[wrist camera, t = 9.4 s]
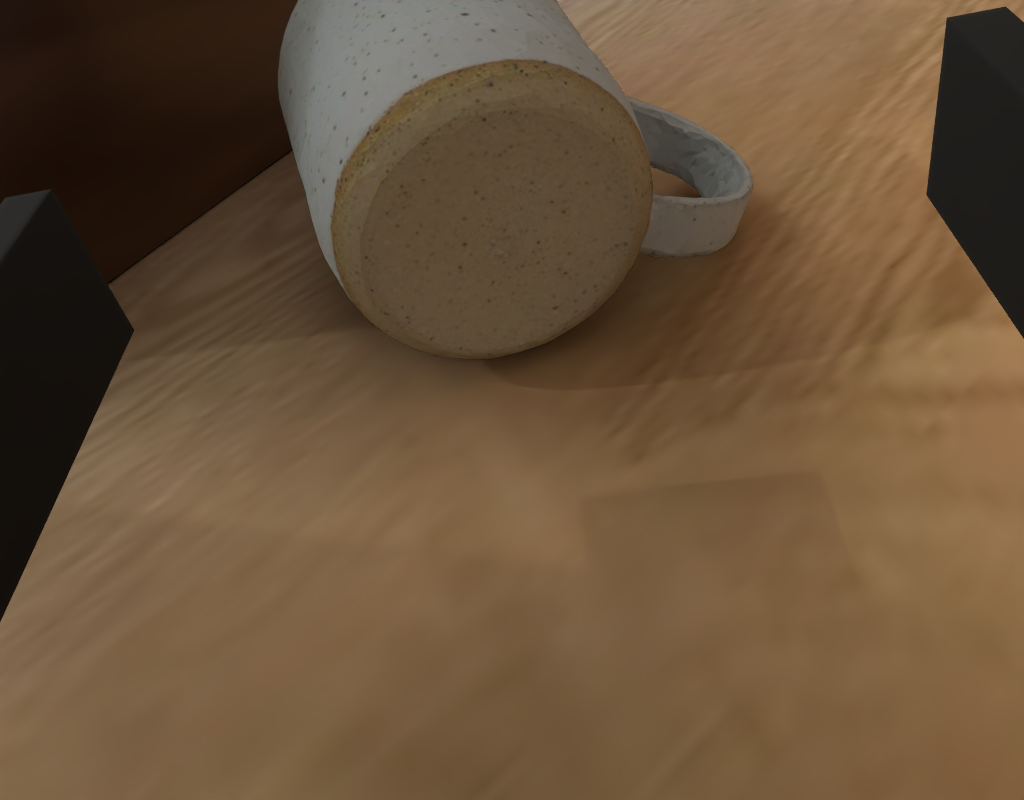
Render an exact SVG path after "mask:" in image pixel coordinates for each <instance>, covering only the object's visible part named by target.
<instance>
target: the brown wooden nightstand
mask: <svg viewBox="0 0 1024 800" xmlns="http://www.w3.org/2000/svg"><path fill="white" fill-rule="evenodd" d="M297 2H298V0H0V204H1V203H2V202H3V200H4V199H5V198H7V197H12V196H17V195H23V194H28V193H33V192H38V191H44V190H49V189H52V190H53V192H54V194H55V195H56V197H57V199H58V201H59V202H60V204H61V206H62V207H63V209H64V211H65V213H66V214H67V216H68V218H69V219H70V221H71V223H72V225H73V226H74V228H75V230H76V231H77V233H78V235H79V236H80V238H81V240H82V242H83V243H84V245H85V247H86V248H87V250H88V252H89V254H90V255H91V257H92V259H93V260H94V262H95V264H96V266H97V267H98V269H99V271H100V272H101V274H102V276H103V278H104V279H105V281H106V283H108V282H110V281H111V280H112V279H114V278H115V277H116V276H118V275H119V274H121V273H122V272H123V271H125V270H126V269H127V268H129V267H130V266H132V265H133V264H134V263H136V262H137V261H138V260H140V259H141V258H143V257H144V256H145V255H147V254H148V253H149V252H151V251H152V250H154V249H155V248H156V247H158V246H159V245H160V244H162V243H163V242H165V241H166V240H167V239H169V238H170V237H171V236H173V235H174V234H176V233H177V232H178V231H180V230H181V229H182V228H184V227H185V226H187V225H188V224H189V223H191V222H192V221H194V220H195V219H196V218H198V217H199V216H200V215H202V214H203V213H205V212H206V211H207V210H209V209H210V208H211V207H213V206H214V205H216V204H217V203H218V202H220V201H221V200H222V199H224V198H225V197H227V196H228V195H229V194H231V193H232V192H233V191H235V190H236V189H238V188H239V187H240V186H242V185H243V184H244V183H246V182H247V181H249V180H250V179H251V178H253V177H254V176H255V175H257V174H258V173H260V172H261V171H262V170H264V169H265V168H266V167H268V166H269V165H271V164H272V163H273V162H275V161H276V160H277V159H279V158H280V157H282V156H283V155H284V154H286V153H287V152H288V151H290V150H291V149H293V148H292V145H291V141H290V137H289V133H288V130H287V126H286V123H285V120H284V116H283V112H282V109H281V105H280V101H279V92H278V68H279V59H280V51H281V46H282V42H283V37H284V33H285V30H286V27H287V25H288V22H289V19H290V16H291V14H292V12H293V10H294V8H295V6H296V4H297Z"/></svg>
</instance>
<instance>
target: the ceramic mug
mask: <svg viewBox="0 0 1024 800" xmlns="http://www.w3.org/2000/svg"><path fill="white" fill-rule="evenodd" d="M278 92H279V101H280V105H281V109H282V112H283V116H284V120H285V123H286V126H287V130H288V133H289V137H290V141H291V145H292V148H293V152H294V156H295V159H296V163H297V167H298V170H299V173H300V176H301V179H302V183H303V185H304V188H305V192H306V196H307V201H308V205H309V210H310V214H311V218H312V221H313V225H314V228H315V231H316V235H317V238H318V242H319V245H320V247H321V250H322V252H323V254H324V256H325V259H326V261H327V263H328V264H329V266H330V268H331V269H332V271H333V273H334V274H335V276H336V277H337V279H338V281H339V283H340V284H341V286H342V287H343V289H344V291H345V292H346V294H347V296H348V297H349V299H350V300H351V301H352V302H353V303H354V304H355V306H356V307H357V308H358V309H359V310H360V311H361V312H362V314H363V315H364V316H365V317H366V318H367V319H368V320H369V321H370V322H371V323H372V324H373V325H375V326H376V327H377V328H379V329H380V330H381V331H383V332H384V333H385V334H386V335H388V336H390V337H392V338H394V339H396V340H397V341H399V342H401V343H403V344H405V345H407V346H409V347H410V348H412V349H415V350H418V351H422V352H425V353H429V354H432V355H435V356H440V357H452V358H464V359H487V358H496V357H501V356H506V355H510V354H515V353H518V352H522V351H525V350H528V349H531V348H534V347H537V346H540V345H542V344H545V343H548V342H550V341H551V340H553V339H555V338H556V337H558V336H560V335H562V334H563V333H565V332H567V331H569V330H570V329H572V328H573V327H575V326H576V325H578V324H579V323H581V322H583V321H584V320H586V319H587V318H588V317H589V316H590V315H592V314H593V313H594V312H595V311H596V310H597V309H599V308H600V307H601V306H602V305H603V304H604V303H605V302H606V301H607V300H608V299H609V298H610V297H611V296H612V295H613V294H614V293H615V291H616V290H617V288H618V287H619V286H620V284H621V283H622V281H623V280H624V278H625V277H626V275H627V274H628V272H629V271H630V270H631V268H632V267H633V265H634V263H635V261H636V258H637V256H638V254H643V255H648V256H652V257H664V258H682V257H687V256H698V255H701V254H705V255H707V254H710V253H713V252H715V251H717V250H719V249H721V248H723V247H724V246H725V245H727V244H728V243H729V242H730V241H731V239H732V238H733V236H734V235H735V233H736V231H737V228H738V225H739V222H740V220H741V218H742V215H743V213H744V211H745V208H746V206H747V203H748V201H749V199H750V196H751V192H752V188H753V180H752V176H751V173H750V170H749V168H748V167H747V165H746V163H745V162H744V161H743V159H742V158H741V157H740V156H739V154H738V153H737V152H736V151H735V150H734V149H732V148H731V147H730V146H729V145H727V144H726V143H724V142H723V141H722V140H721V139H719V138H718V137H717V136H715V135H714V134H713V133H711V132H709V131H707V130H706V129H704V128H702V127H700V126H699V125H697V124H695V123H693V122H691V121H689V120H687V119H685V118H683V117H681V116H679V115H676V114H674V113H671V112H669V111H666V110H664V109H662V108H659V107H656V106H653V105H650V104H647V103H644V102H641V101H638V100H635V99H633V98H630V97H627V96H625V94H624V93H623V91H622V90H621V88H620V86H619V85H618V83H617V82H616V80H615V79H614V77H613V76H612V75H611V74H610V72H609V71H608V70H607V68H606V67H605V66H604V65H603V63H602V62H601V61H600V60H599V58H598V57H597V56H596V55H595V54H594V53H593V52H592V51H591V49H590V48H589V47H588V46H587V45H586V43H585V42H584V40H583V39H582V37H581V36H580V34H579V33H578V31H577V30H576V28H575V27H574V25H573V24H572V22H571V21H570V20H569V18H568V17H567V16H566V14H565V13H564V11H563V10H562V9H561V7H560V6H559V4H558V3H557V1H556V0H298V2H297V4H296V6H295V8H294V10H293V12H292V14H291V16H290V19H289V22H288V25H287V27H286V30H285V33H284V37H283V42H282V46H281V51H280V59H279V68H278ZM650 166H652V167H655V168H657V169H660V170H662V171H664V172H666V173H669V174H672V175H675V176H677V177H679V178H681V179H682V180H683V181H685V182H686V183H688V184H690V185H691V186H692V187H694V188H695V189H696V190H697V192H698V193H699V194H700V196H701V197H699V198H688V197H677V196H662V195H654V194H653V184H652V176H651V169H650Z"/></svg>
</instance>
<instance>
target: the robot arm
mask: <svg viewBox="0 0 1024 800" xmlns="http://www.w3.org/2000/svg"><path fill="white" fill-rule="evenodd" d="M927 196H928V198H929V199H930V201H931V202H932V204H933V205H934V207H935V208H936V210H937V211H938V213H939V214H940V216H941V217H942V218H943V220H944V221H945V223H946V224H947V226H948V227H949V229H950V230H951V232H952V233H953V235H954V236H955V238H956V239H957V241H958V242H959V244H960V245H961V247H962V248H963V250H964V251H965V253H966V254H967V255H968V257H969V258H970V260H971V261H972V263H973V264H974V266H975V267H976V269H977V270H978V272H979V273H980V275H981V276H982V278H983V279H984V281H985V282H986V284H987V285H988V287H989V288H990V290H991V291H992V292H993V294H994V295H995V297H996V298H997V300H998V301H999V303H1000V304H1001V306H1002V307H1003V309H1004V310H1005V312H1006V313H1007V315H1008V316H1009V318H1010V319H1011V321H1012V322H1013V324H1014V325H1015V326H1016V328H1017V329H1018V331H1019V332H1020V334H1021V335H1022V337H1023V338H1024V22H1023V21H1021V20H1020V19H1019V18H1018V17H1017V16H1016V15H1015V14H1014V13H1012V12H1011V11H1010V10H1009V9H1008V8H1007V7H1001V8H996V9H991V10H986V11H980V12H975V13H970V14H965V15H959V16H954V17H949V18H947V22H946V31H945V39H944V48H943V57H942V65H941V74H940V82H939V91H938V100H937V108H936V117H935V126H934V134H933V143H932V152H931V160H930V169H929V178H928V186H927ZM133 331H134V329H133V327H132V326H131V324H130V322H129V320H128V319H127V317H126V315H125V314H124V312H123V310H122V308H121V307H120V305H119V303H118V302H117V300H116V298H115V296H114V295H113V293H112V291H111V290H110V288H109V286H108V284H107V283H106V281H105V279H104V278H103V276H102V274H101V272H100V271H99V269H98V267H97V266H96V264H95V262H94V260H93V259H92V257H91V255H90V254H89V252H88V250H87V248H86V247H85V245H84V243H83V242H82V240H81V238H80V236H79V235H78V233H77V231H76V230H75V228H74V226H73V225H72V223H71V221H70V219H69V218H68V216H67V214H66V213H65V211H64V209H63V207H62V206H61V204H60V202H59V201H58V199H57V197H56V195H55V194H54V192H53V190H52V189H49V190H44V191H38V192H33V193H28V194H23V195H17V196H12V197H7V198H5V199H4V200H3V202H2V203H1V204H0V621H1V619H2V617H3V615H4V613H5V611H6V608H7V606H8V604H9V602H10V600H11V597H12V595H13V593H14V591H15V589H16V587H17V584H18V582H19V580H20V578H21V576H22V573H23V571H24V569H25V567H26V565H27V563H28V560H29V558H30V556H31V554H32V552H33V549H34V547H35V545H36V543H37V541H38V539H39V536H40V534H41V532H42V530H43V528H44V525H45V523H46V521H47V519H48V517H49V515H50V512H51V510H52V508H53V506H54V504H55V501H56V499H57V497H58V495H59V493H60V491H61V488H62V486H63V484H64V482H65V480H66V478H67V475H68V473H69V471H70V469H71V467H72V464H73V462H74V460H75V458H76V456H77V454H78V451H79V449H80V447H81V445H82V443H83V440H84V438H85V436H86V434H87V432H88V430H89V427H90V425H91V423H92V421H93V419H94V416H95V414H96V412H97V410H98V408H99V406H100V403H101V401H102V399H103V397H104V395H105V392H106V390H107V388H108V386H109V384H110V382H111V379H112V377H113V375H114V373H115V371H116V369H117V366H118V364H119V362H120V360H121V358H122V355H123V353H124V351H125V349H126V347H127V345H128V342H129V340H130V338H131V336H132V334H133Z"/></svg>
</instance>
